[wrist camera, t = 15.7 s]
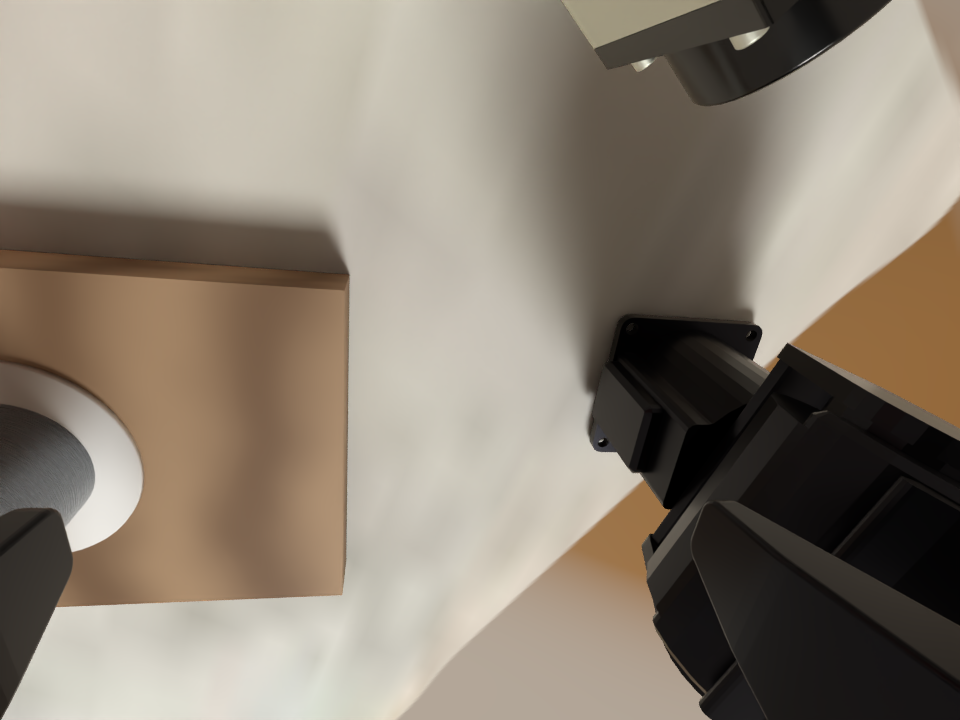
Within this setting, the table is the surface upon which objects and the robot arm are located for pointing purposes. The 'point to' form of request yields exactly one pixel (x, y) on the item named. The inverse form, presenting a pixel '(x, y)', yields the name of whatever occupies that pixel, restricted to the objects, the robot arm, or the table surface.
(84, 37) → the table surface
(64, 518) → the steel hub
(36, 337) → the mounting plate
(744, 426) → the robot arm
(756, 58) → the pneumatic valve
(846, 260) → the table surface
